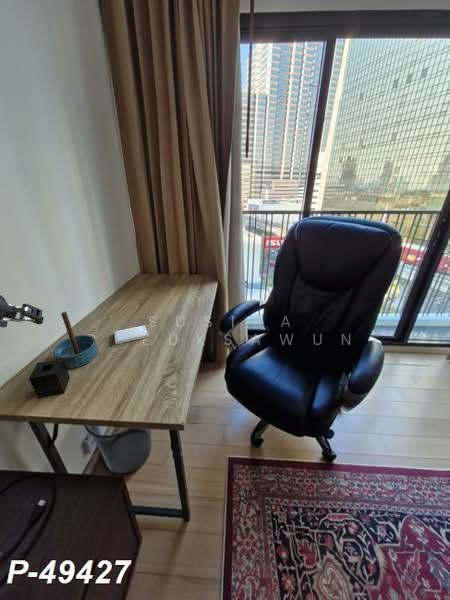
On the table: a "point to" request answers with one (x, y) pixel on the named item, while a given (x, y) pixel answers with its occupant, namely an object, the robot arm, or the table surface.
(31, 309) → the robot arm
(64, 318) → the stick
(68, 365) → the bowl
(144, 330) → the hard drive
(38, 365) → the holder
